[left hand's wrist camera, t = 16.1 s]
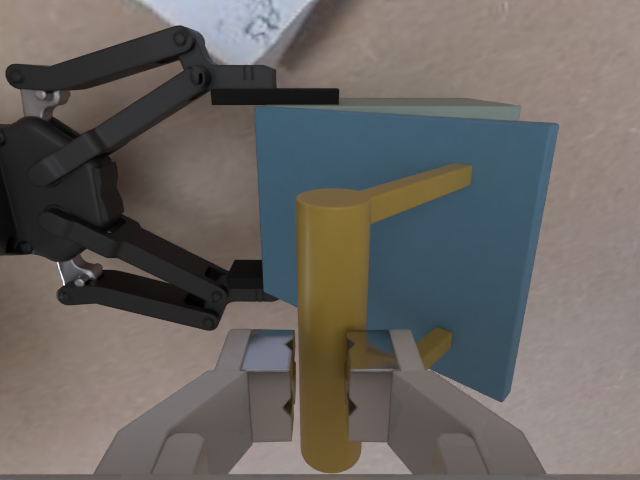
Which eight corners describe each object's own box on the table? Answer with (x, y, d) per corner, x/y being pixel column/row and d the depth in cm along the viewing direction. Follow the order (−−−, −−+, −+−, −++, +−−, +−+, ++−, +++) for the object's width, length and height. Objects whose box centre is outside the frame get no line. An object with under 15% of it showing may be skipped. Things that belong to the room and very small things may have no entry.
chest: (467, 98, 29) (521, 105, 21) (452, 235, 33) (494, 286, 25) (279, 98, 29) (261, 105, 21) (283, 234, 33) (269, 285, 25)
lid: (560, 123, 13) (413, 158, 7) (510, 392, 16) (384, 562, 11) (266, 106, 21) (90, 116, 16) (274, 286, 25) (131, 350, 19)
